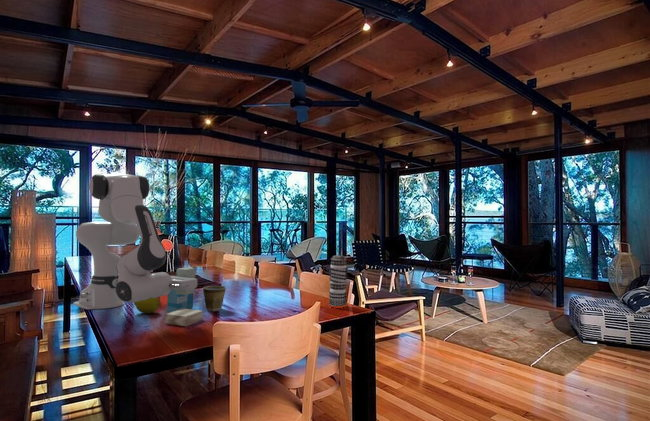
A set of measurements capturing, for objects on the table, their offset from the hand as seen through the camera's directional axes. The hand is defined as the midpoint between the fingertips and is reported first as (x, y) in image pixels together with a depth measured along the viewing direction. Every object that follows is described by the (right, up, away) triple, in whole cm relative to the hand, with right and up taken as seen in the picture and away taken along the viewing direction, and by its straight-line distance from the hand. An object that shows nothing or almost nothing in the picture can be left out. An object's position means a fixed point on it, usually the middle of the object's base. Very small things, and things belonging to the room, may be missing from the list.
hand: (187, 279), depth 150 cm
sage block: (-1, -5, -1) cm, 6 cm away
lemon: (-21, -17, +10) cm, 29 cm away
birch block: (-1, -17, -1) cm, 17 cm away
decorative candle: (+63, -20, +31) cm, 73 cm away
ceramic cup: (+4, -18, +21) cm, 28 cm away
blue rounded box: (-8, -17, +14) cm, 24 cm away
